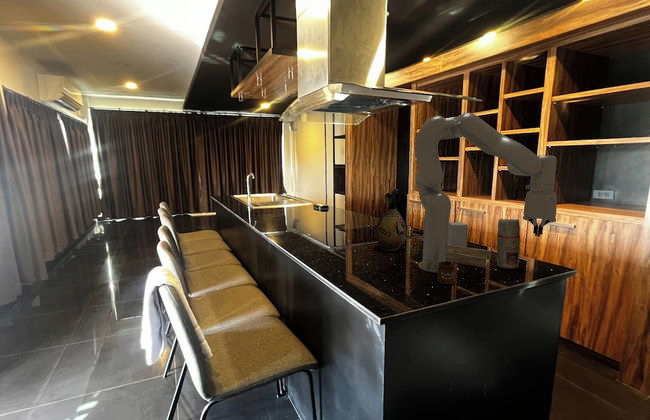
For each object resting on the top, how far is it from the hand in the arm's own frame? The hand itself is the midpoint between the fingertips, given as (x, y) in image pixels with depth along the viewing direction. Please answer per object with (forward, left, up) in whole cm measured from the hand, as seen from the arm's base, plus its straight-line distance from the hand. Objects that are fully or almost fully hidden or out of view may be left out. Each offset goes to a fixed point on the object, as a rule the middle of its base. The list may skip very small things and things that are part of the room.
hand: (537, 235), depth 122 cm
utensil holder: (-31, +25, -14) cm, 43 cm away
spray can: (0, +9, -14) cm, 17 cm away
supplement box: (+18, +33, -14) cm, 41 cm away
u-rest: (0, +27, -14) cm, 31 cm away
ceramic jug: (0, +60, -14) cm, 62 cm away
